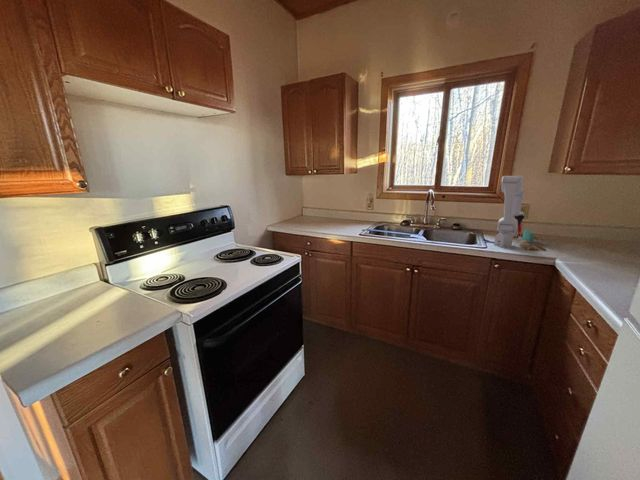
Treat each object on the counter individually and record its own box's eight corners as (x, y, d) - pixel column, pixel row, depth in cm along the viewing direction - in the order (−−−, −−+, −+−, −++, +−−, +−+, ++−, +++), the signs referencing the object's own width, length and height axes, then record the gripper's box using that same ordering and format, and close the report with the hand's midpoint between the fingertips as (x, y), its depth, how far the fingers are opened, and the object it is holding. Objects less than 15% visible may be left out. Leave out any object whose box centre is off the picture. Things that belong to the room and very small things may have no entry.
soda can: (518, 237, 189) (521, 220, 185) (507, 235, 194) (509, 219, 191) (522, 236, 193) (525, 219, 189) (511, 234, 198) (513, 218, 195)
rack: (525, 251, 159) (525, 248, 159) (518, 246, 169) (518, 243, 168) (545, 252, 157) (546, 249, 156) (537, 247, 166) (538, 244, 165)
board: (528, 243, 170) (530, 233, 169) (522, 240, 179) (523, 229, 177) (532, 243, 170) (534, 233, 168) (525, 240, 178) (527, 229, 177)
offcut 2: (525, 249, 159) (526, 245, 159) (522, 247, 164) (523, 243, 163) (529, 250, 159) (530, 245, 158) (526, 248, 163) (527, 243, 162)
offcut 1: (522, 247, 164) (523, 242, 163) (519, 245, 168) (520, 240, 167) (526, 247, 163) (527, 242, 162) (523, 245, 167) (524, 240, 166)
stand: (525, 245, 170) (526, 241, 169) (517, 240, 181) (518, 236, 180) (536, 246, 168) (537, 241, 168) (527, 241, 180) (528, 236, 179)
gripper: (512, 208, 171) (509, 229, 174) (530, 206, 175) (526, 227, 178) (502, 206, 178) (499, 226, 181) (519, 205, 181) (516, 225, 185)
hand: (512, 226), depth 180 cm, fingers open, 7 cm apart
